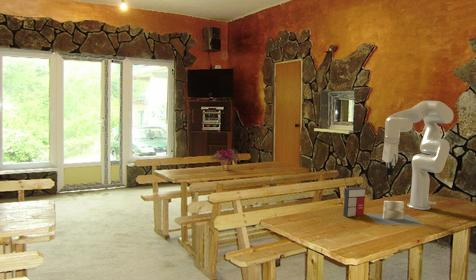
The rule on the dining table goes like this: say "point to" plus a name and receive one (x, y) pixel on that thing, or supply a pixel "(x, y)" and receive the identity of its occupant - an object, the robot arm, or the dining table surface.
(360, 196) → the grey and red box
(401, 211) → the tile
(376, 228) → the dining table surface
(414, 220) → the mat
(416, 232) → the dining table surface
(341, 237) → the dining table surface
